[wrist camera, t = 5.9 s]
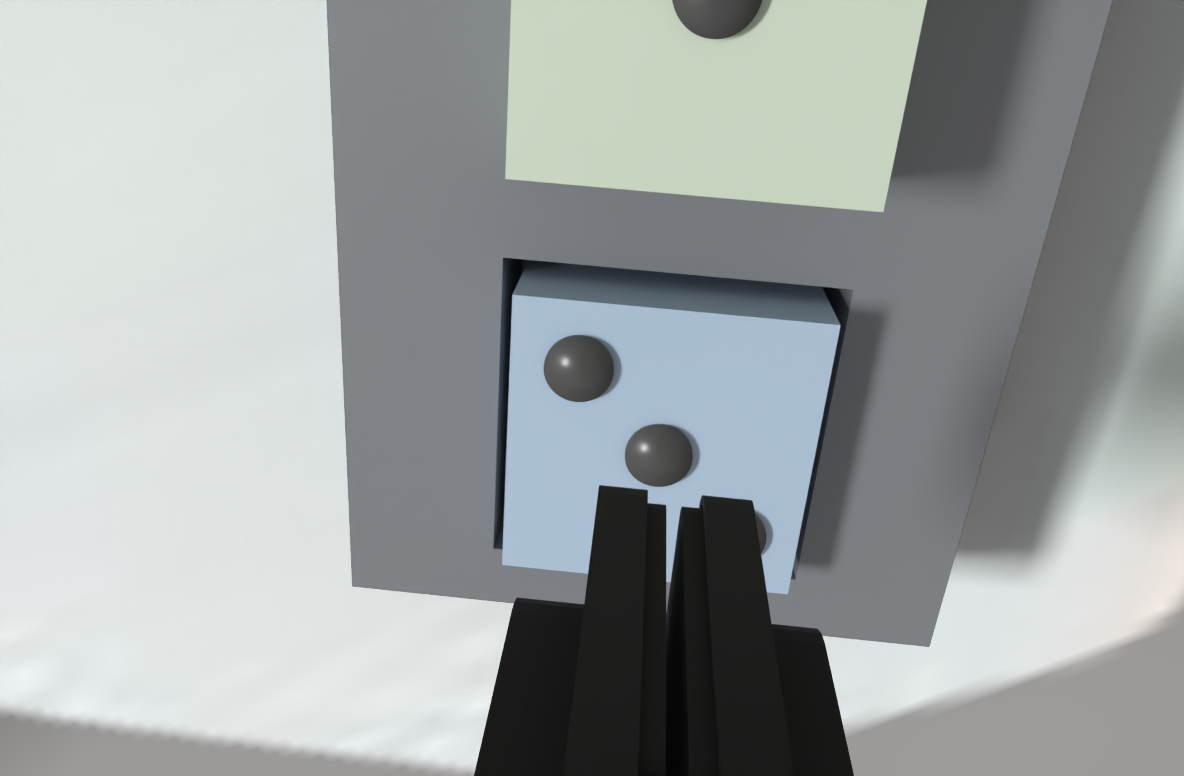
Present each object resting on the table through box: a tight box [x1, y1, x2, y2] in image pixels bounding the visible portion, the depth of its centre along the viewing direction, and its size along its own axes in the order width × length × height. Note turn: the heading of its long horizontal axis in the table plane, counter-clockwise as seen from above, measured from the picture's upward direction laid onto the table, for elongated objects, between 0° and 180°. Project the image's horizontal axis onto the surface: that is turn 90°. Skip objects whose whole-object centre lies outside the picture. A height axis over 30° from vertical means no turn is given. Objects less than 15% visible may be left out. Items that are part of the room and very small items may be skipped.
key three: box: [502, 260, 841, 594], centre depth 16 cm, size 5×5×3 cm
